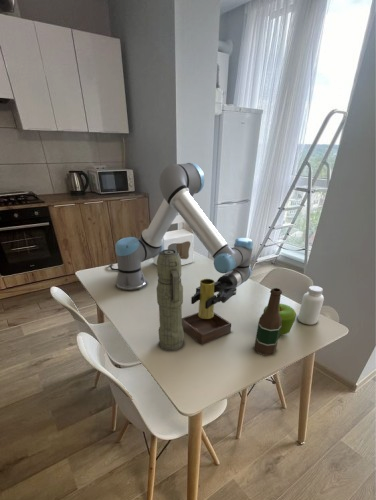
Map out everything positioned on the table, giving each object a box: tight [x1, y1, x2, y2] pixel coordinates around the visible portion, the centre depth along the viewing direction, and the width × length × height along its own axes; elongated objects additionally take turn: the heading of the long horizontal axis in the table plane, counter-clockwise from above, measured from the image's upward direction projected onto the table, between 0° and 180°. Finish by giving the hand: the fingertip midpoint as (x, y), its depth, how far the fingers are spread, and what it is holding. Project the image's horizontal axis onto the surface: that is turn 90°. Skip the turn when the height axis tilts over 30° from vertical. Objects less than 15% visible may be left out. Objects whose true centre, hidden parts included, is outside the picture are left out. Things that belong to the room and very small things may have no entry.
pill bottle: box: [297, 285, 325, 326], centre depth 119 cm, size 8×8×15 cm
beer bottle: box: [254, 287, 283, 356], centre depth 99 cm, size 8×8×24 cm
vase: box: [197, 278, 216, 319], centre depth 109 cm, size 6×6×14 cm
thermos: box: [156, 248, 184, 351], centre depth 98 cm, size 9×12×35 cm
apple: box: [262, 303, 297, 336], centre depth 113 cm, size 12×12×11 cm
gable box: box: [152, 214, 195, 266], centre depth 173 cm, size 22×13×28 cm, turn 126°
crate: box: [182, 311, 232, 345], centre depth 115 cm, size 15×15×4 cm
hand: (199, 302), depth 105 cm, fingers closed on vase, 5 cm apart
